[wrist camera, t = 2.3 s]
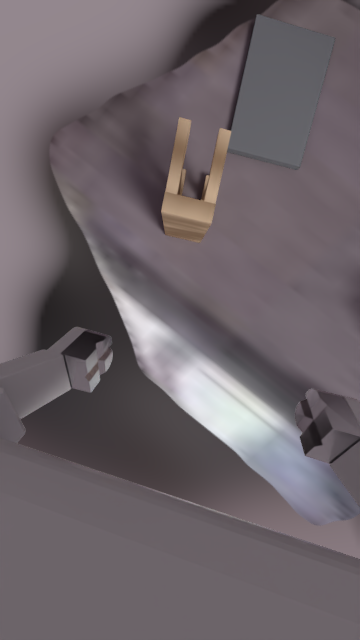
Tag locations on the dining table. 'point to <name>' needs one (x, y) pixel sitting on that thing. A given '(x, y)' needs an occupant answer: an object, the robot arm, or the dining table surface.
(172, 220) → the stool
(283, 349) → the dining table surface
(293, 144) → the mat
